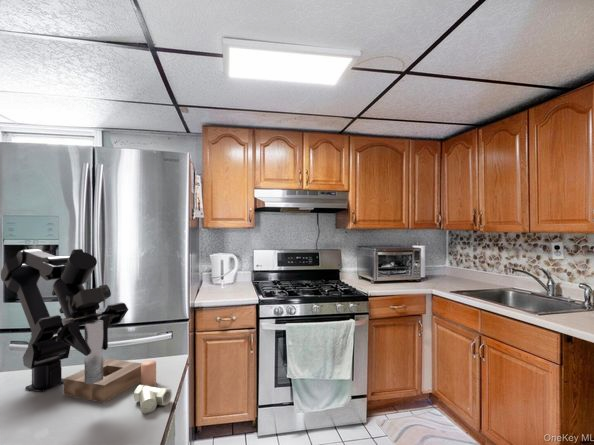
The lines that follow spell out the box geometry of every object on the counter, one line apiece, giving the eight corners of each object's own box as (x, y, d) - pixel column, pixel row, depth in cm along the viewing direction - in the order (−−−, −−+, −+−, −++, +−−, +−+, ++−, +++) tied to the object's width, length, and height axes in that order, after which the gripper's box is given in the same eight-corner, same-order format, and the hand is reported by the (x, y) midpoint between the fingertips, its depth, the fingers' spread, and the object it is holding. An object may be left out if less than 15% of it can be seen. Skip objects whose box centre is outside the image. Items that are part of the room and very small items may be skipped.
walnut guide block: (63, 394, 81) (63, 378, 81) (108, 372, 94) (108, 358, 94) (104, 402, 77) (104, 385, 77) (145, 378, 90) (145, 363, 90)
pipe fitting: (151, 419, 71) (172, 401, 78) (150, 401, 71) (171, 385, 77) (122, 413, 74) (145, 396, 80) (121, 396, 73) (144, 381, 80)
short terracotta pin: (138, 386, 85) (138, 365, 85) (148, 380, 89) (148, 360, 89) (149, 388, 84) (149, 366, 84) (159, 382, 87) (159, 361, 88)
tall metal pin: (80, 382, 73) (80, 323, 73) (95, 375, 76) (95, 319, 76) (92, 384, 72) (92, 324, 72) (107, 377, 75) (106, 320, 75)
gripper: (37, 280, 69) (62, 342, 63) (124, 270, 84) (150, 319, 78) (21, 314, 73) (43, 375, 66) (107, 298, 88) (131, 346, 82)
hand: (97, 351), depth 73 cm, fingers closed on tall metal pin, 4 cm apart
